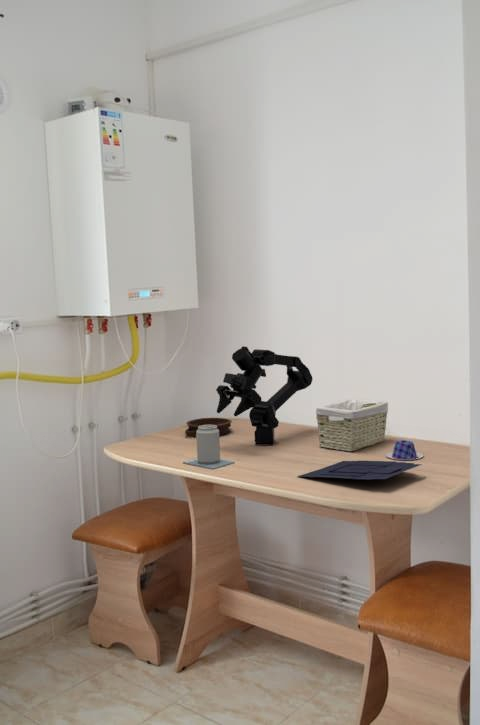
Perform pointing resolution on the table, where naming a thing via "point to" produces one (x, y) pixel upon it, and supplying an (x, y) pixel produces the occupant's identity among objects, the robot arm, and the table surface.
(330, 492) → the table surface
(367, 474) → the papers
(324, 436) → the storage basket
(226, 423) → the dish
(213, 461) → the can
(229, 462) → the mat
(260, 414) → the robot arm
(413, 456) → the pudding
